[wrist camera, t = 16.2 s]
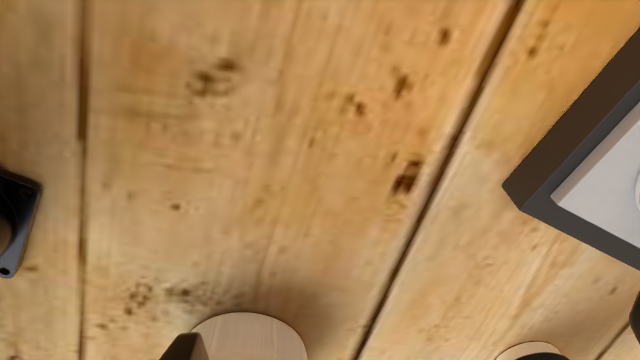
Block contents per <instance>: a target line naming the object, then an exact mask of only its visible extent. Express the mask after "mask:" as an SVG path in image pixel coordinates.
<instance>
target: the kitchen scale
mask: <svg viewBox="0 0 640 360" xmlns="http://www.w3.org/2000/svg"><path fill="white" fill-rule="evenodd" d="M639 173H640V28H639V30H638V31H637V32H636V33H635V34H634V35H633V36H632V38H631V39H630V40H629V41H628V42H627V43H626V44H625V46H624V47H623V48H622V49H621V50H620V51H619V52H618V54H617V55H616V56H615V57H614V58H613V59H612V60H611V62H610V63H609V64H608V65H607V66H606V67H605V68H604V70H603V71H602V72H601V73H600V74H599V75H598V76H597V77H596V79H595V80H594V81H593V82H592V83H591V84H590V85H589V87H588V88H587V89H586V90H585V91H584V92H583V93H582V95H581V96H580V97H579V98H578V99H577V100H576V101H575V103H574V104H573V105H572V106H571V107H570V108H569V109H568V111H567V112H566V113H565V114H564V115H563V116H562V117H561V119H560V120H559V121H558V122H557V123H556V124H555V125H554V127H553V128H552V129H551V130H550V131H549V132H548V133H547V134H546V136H545V137H544V138H543V139H542V140H541V141H540V142H539V144H538V145H537V146H536V147H535V148H534V149H533V150H532V152H531V153H530V154H529V155H528V156H527V157H526V158H525V160H524V161H523V162H522V163H521V164H520V165H519V166H518V168H517V169H516V170H515V171H514V172H513V173H512V174H511V176H510V177H509V178H508V179H507V180H506V181H505V182H504V183H503V185H502V188H503V189H504V190H505V192H506V193H507V194H508V196H509V197H510V198H511V200H512V201H513V202H514V204H515V205H516V206H517V208H518V209H519V210H520V211H522V212H524V213H526V214H528V215H530V216H532V217H534V218H536V219H538V220H540V221H542V222H544V223H546V224H548V225H550V226H552V227H554V228H556V229H558V230H560V231H562V232H564V233H566V234H568V235H570V236H572V237H574V238H576V239H578V240H580V241H582V242H584V243H586V244H588V245H590V246H592V247H594V248H596V249H598V250H600V251H602V252H604V253H606V254H608V255H610V256H612V257H614V258H616V259H618V260H620V261H622V262H624V263H626V264H628V265H630V266H632V267H633V268H635V269H637V270H639V271H640V210H639V208H638V206H637V204H636V200H635V185H636V181H637V178H638V175H639Z"/></svg>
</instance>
